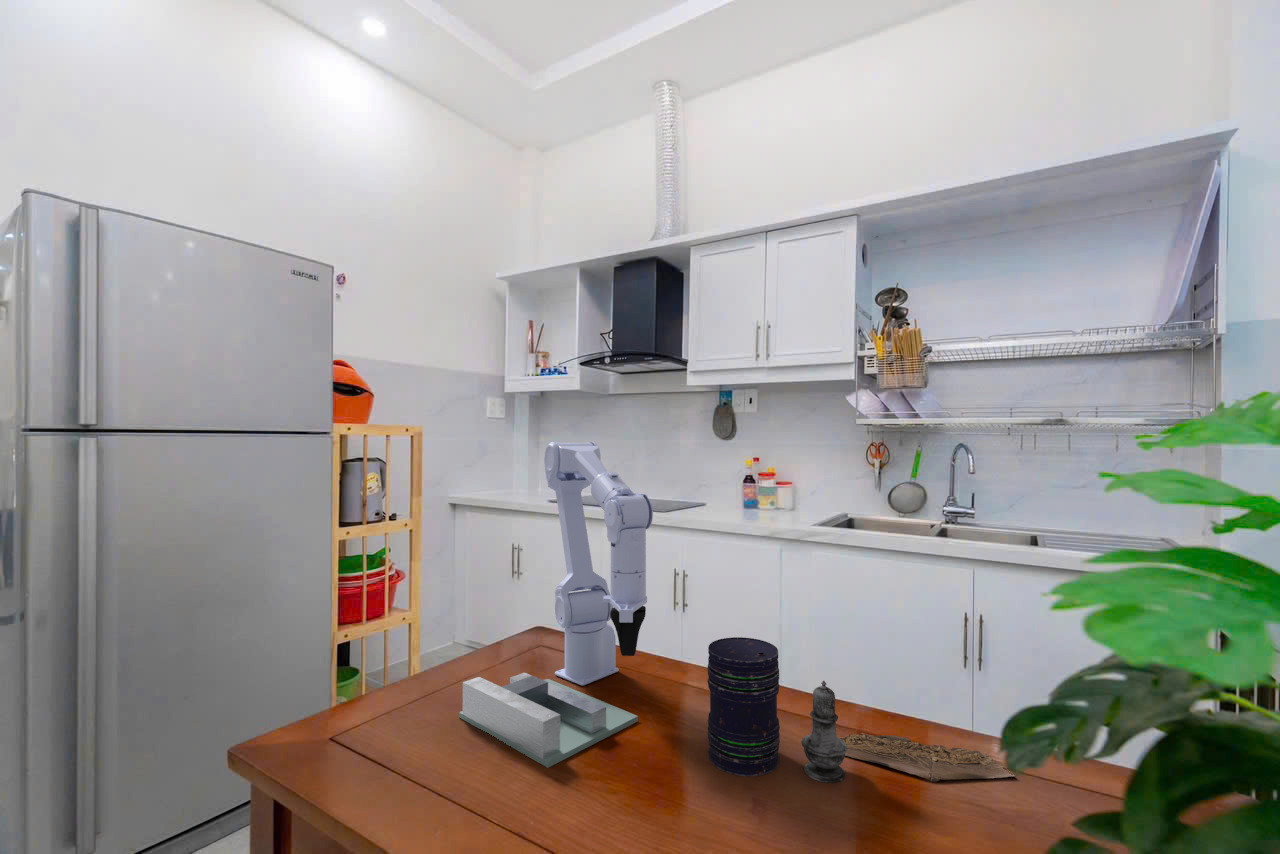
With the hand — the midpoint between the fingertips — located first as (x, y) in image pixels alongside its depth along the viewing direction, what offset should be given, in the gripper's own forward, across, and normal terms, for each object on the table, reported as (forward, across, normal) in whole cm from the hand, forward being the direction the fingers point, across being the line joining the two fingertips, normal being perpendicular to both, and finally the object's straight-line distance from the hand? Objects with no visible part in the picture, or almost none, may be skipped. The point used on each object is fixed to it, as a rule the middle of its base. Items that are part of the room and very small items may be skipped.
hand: (628, 654), depth 98 cm
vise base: (+9, +2, -13) cm, 16 cm away
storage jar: (+10, +13, +17) cm, 23 cm away
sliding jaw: (+9, +1, -12) cm, 14 cm away
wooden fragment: (+10, +13, +39) cm, 42 cm away
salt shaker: (+10, +16, +27) cm, 33 cm away
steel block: (+9, +3, -16) cm, 18 cm away
